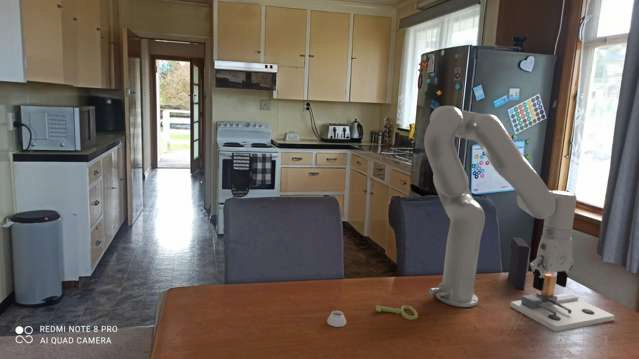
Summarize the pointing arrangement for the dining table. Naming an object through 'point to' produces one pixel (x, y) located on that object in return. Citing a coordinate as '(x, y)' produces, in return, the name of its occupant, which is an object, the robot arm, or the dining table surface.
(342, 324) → the white jar
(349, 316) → the dining table surface
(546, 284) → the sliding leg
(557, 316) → the gauge board
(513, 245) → the calculator
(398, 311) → the key
